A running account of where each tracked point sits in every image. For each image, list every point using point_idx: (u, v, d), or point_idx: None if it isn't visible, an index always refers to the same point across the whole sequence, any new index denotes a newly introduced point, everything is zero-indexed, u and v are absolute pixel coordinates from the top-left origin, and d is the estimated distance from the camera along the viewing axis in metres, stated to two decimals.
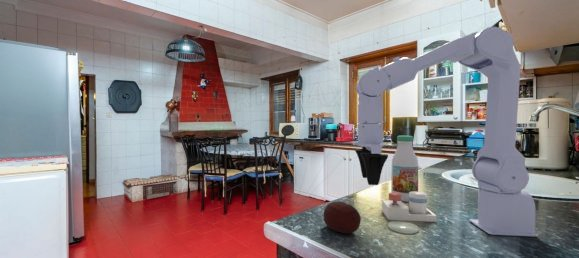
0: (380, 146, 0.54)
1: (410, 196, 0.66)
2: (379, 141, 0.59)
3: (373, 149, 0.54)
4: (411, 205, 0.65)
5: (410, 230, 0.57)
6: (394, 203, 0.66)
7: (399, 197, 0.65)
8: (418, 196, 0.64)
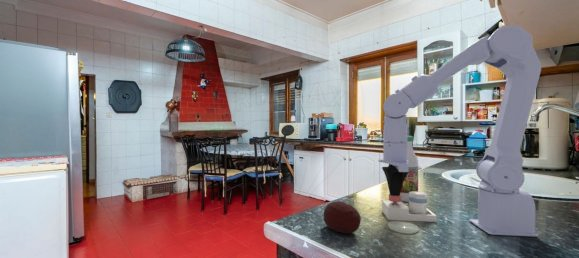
0: (407, 165, 0.59)
1: (410, 196, 0.66)
2: (404, 159, 0.64)
3: (401, 168, 0.59)
4: (411, 205, 0.65)
5: (410, 230, 0.57)
6: (394, 204, 0.66)
7: (399, 198, 0.65)
8: (418, 196, 0.64)
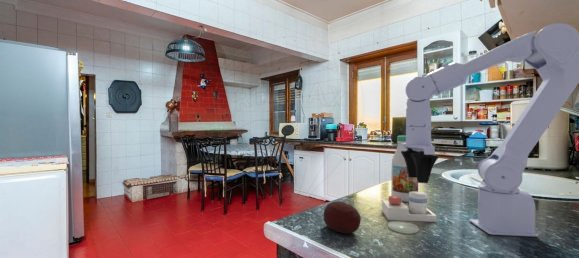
0: (433, 147, 0.58)
1: (410, 196, 0.66)
2: (428, 143, 0.63)
3: (427, 150, 0.59)
4: (411, 205, 0.65)
5: (410, 230, 0.57)
6: None
7: (399, 200, 0.65)
8: (418, 196, 0.64)
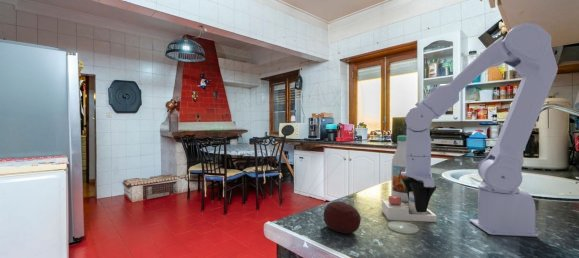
0: (433, 180, 0.59)
1: (410, 196, 0.66)
2: (428, 173, 0.63)
3: (426, 183, 0.59)
4: (411, 205, 0.65)
5: (410, 230, 0.57)
6: None
7: (399, 200, 0.65)
8: None
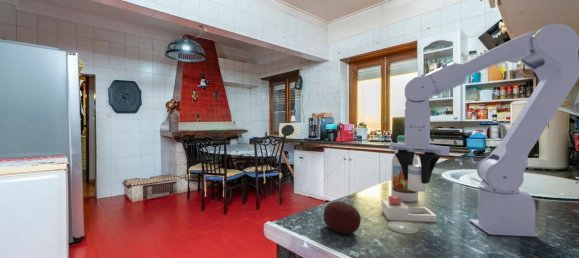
0: None
1: (413, 169, 0.64)
2: (429, 143, 0.64)
3: (445, 151, 0.59)
4: (415, 178, 0.64)
5: (410, 230, 0.57)
6: None
7: (399, 200, 0.65)
8: None
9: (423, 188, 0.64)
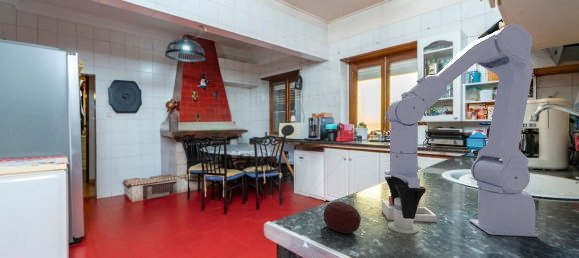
0: (418, 180, 0.51)
1: (396, 203, 0.58)
2: (414, 172, 0.56)
3: (411, 183, 0.52)
4: (397, 213, 0.58)
5: (410, 230, 0.57)
6: None
7: None
8: None
9: (406, 226, 0.57)
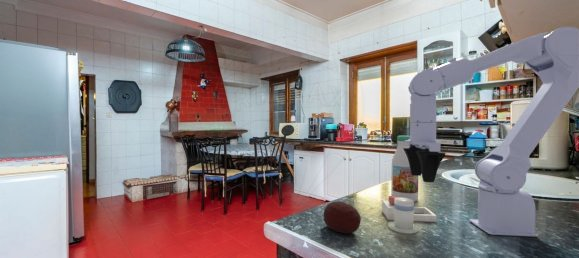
0: (439, 144, 0.56)
1: (396, 203, 0.58)
2: (433, 139, 0.60)
3: (432, 147, 0.56)
4: (397, 213, 0.58)
5: (410, 230, 0.57)
6: None
7: None
8: (404, 203, 0.57)
9: (406, 226, 0.57)
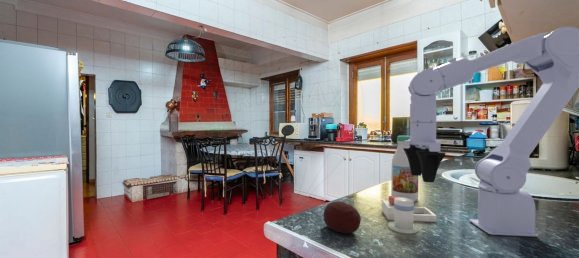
0: (439, 144, 0.56)
1: (395, 203, 0.58)
2: (433, 139, 0.60)
3: (432, 147, 0.56)
4: (397, 213, 0.58)
5: (410, 230, 0.57)
6: None
7: None
8: (404, 203, 0.57)
9: (406, 226, 0.57)
